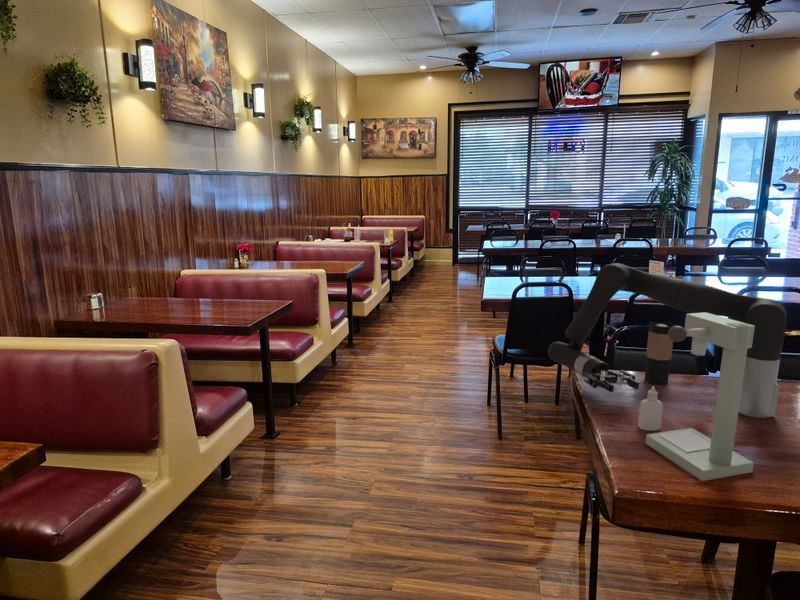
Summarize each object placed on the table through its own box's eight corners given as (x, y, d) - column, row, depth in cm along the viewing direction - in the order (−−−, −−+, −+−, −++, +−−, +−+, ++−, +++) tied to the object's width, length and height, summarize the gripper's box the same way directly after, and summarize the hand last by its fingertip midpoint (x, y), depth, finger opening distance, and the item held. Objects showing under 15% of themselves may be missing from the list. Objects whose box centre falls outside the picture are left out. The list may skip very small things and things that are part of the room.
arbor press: (626, 446, 129) (638, 312, 122) (690, 436, 134) (706, 307, 127) (680, 484, 112) (699, 332, 105) (752, 472, 117) (774, 325, 110)
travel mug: (658, 386, 168) (665, 328, 164) (638, 379, 175) (644, 323, 171) (673, 382, 172) (680, 325, 168) (653, 375, 179) (659, 320, 174)
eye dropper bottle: (638, 422, 142) (642, 382, 140) (660, 427, 140) (665, 386, 137) (637, 429, 139) (641, 387, 136) (660, 433, 136) (664, 391, 133)
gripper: (573, 359, 160) (605, 377, 145) (612, 356, 164) (647, 373, 148) (571, 382, 162) (603, 402, 146) (610, 378, 165) (645, 397, 150)
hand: (625, 387), depth 147 cm, fingers open, 8 cm apart
